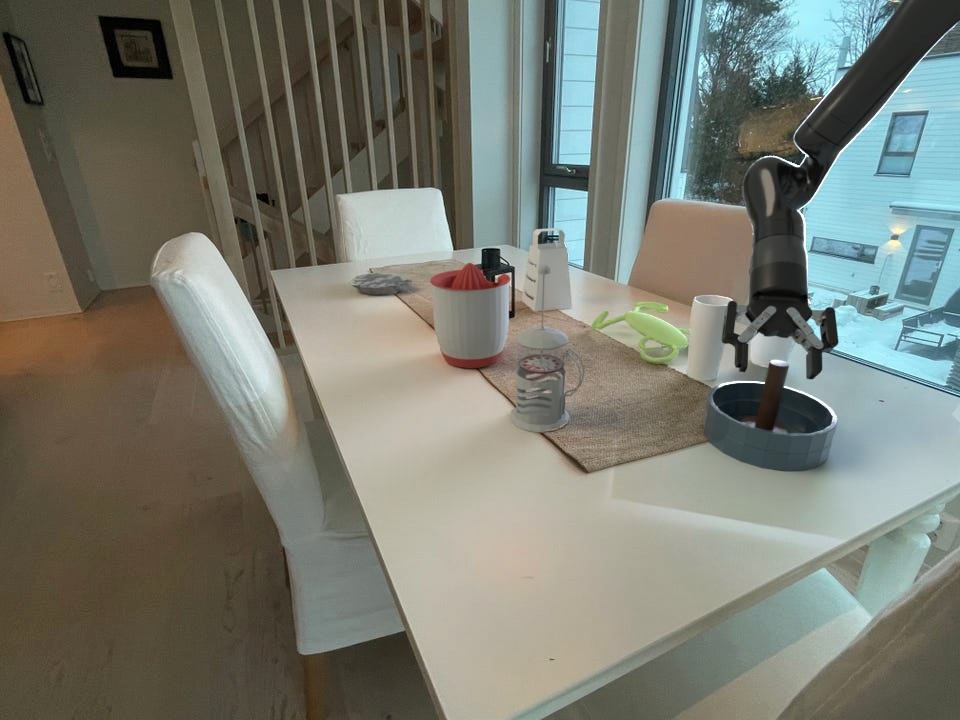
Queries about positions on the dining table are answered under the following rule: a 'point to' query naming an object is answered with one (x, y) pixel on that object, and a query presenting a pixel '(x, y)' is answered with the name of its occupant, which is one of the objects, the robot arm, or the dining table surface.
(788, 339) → the foam cup
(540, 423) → the french press
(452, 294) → the citrus juicer
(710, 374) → the drinking glass
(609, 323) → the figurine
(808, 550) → the dining table surface
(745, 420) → the stirring muddler
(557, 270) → the grater
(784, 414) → the bowl
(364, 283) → the brain slice
